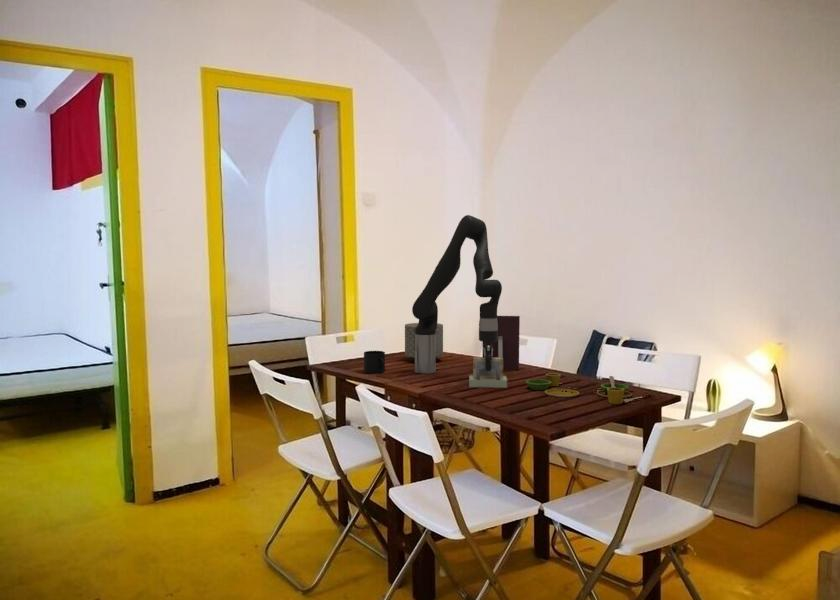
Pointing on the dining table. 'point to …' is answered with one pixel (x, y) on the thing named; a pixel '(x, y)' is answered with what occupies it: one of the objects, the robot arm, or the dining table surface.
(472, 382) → the grey pronged block
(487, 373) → the panel
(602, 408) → the dining table surface
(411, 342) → the planter
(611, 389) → the tableware set
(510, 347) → the dark maroon upright block
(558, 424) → the dining table surface
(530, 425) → the dining table surface
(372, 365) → the mug
